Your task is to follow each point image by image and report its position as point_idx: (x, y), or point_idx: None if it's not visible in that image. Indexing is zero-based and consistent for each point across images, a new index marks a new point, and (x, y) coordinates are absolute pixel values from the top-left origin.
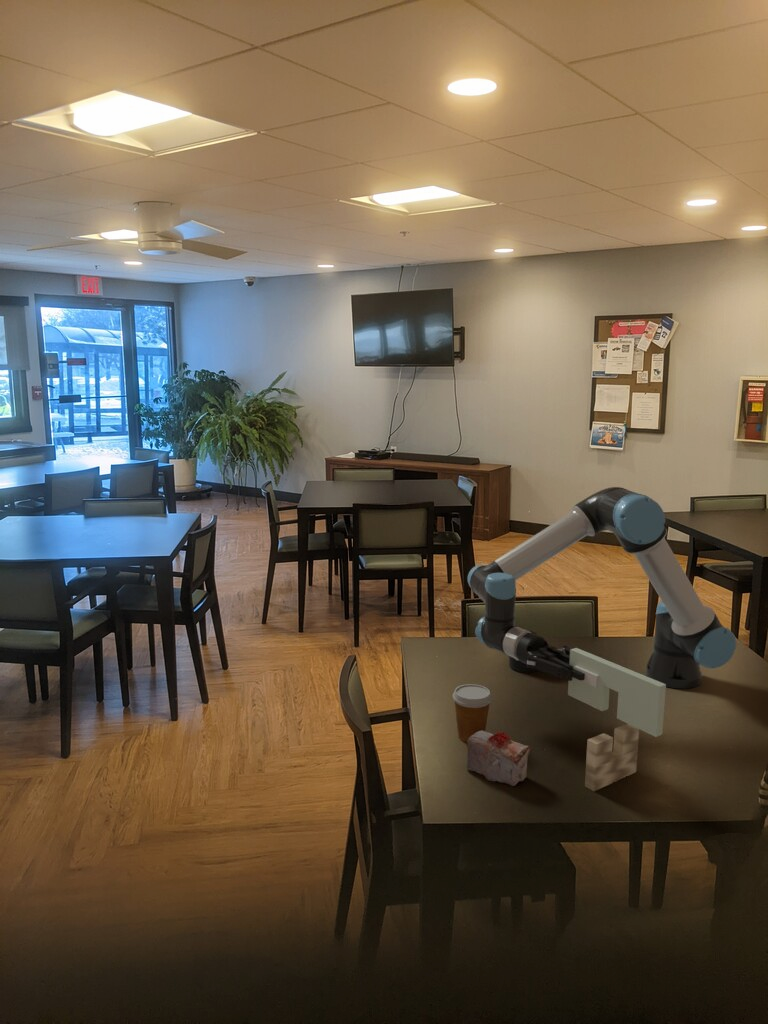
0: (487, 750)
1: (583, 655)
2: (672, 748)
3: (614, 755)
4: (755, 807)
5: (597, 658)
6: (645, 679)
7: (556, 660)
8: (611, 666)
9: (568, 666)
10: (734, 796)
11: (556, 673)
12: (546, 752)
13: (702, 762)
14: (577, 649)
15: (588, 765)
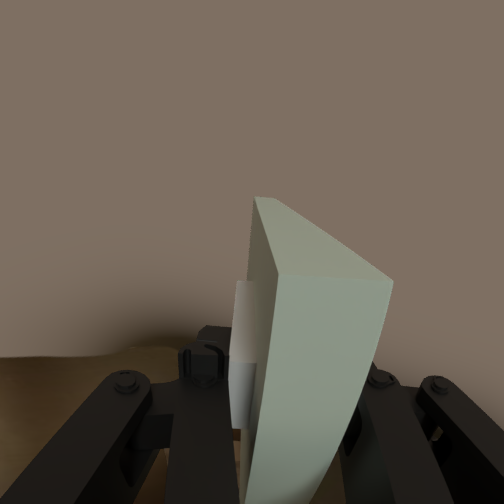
0: None
1: (331, 240)
2: (44, 438)
3: (237, 450)
4: (148, 347)
5: (283, 220)
6: (271, 200)
7: (445, 501)
8: (292, 210)
9: (395, 379)
10: (139, 362)
11: (448, 443)
12: None
13: (68, 400)
14: (305, 260)
15: None
